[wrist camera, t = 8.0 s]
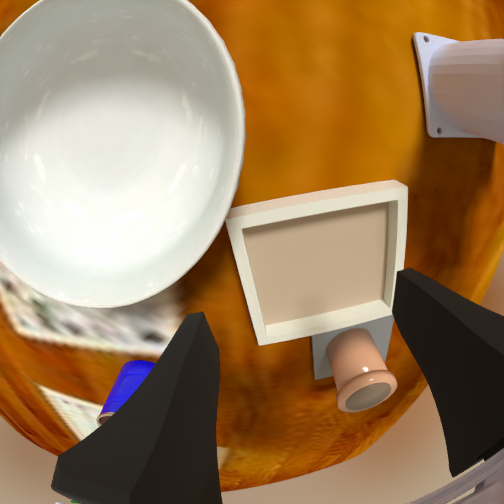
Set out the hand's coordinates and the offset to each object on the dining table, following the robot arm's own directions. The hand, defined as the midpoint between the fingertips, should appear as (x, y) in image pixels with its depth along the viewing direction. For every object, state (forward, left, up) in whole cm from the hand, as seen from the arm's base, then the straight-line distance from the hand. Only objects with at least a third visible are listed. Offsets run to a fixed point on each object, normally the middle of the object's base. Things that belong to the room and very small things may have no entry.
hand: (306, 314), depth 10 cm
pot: (-5, +14, -9) cm, 17 cm away
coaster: (-6, +15, -10) cm, 18 cm away
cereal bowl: (+9, -8, -10) cm, 16 cm away
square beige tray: (-3, +5, -10) cm, 11 cm away
